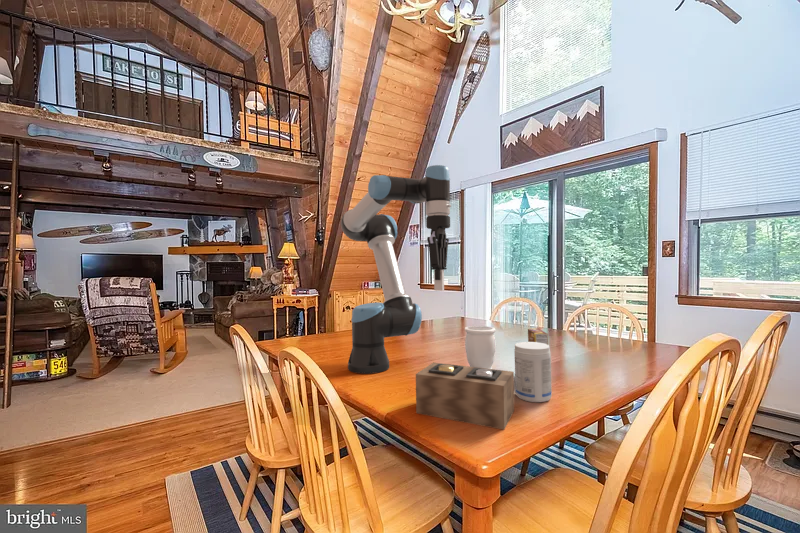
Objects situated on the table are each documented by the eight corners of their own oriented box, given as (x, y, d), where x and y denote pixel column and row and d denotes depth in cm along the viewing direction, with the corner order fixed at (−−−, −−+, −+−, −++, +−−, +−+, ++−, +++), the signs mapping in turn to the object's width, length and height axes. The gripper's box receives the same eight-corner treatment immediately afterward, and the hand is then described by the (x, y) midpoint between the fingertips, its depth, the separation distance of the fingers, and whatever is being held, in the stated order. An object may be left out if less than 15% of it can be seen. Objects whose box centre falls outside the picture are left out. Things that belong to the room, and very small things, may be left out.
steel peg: (474, 412, 92) (474, 372, 92) (479, 407, 96) (478, 368, 96) (490, 415, 90) (490, 374, 90) (494, 409, 94) (494, 370, 94)
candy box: (527, 372, 128) (527, 328, 127) (540, 372, 127) (540, 328, 127) (535, 381, 119) (535, 333, 119) (549, 381, 118) (549, 333, 118)
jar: (459, 369, 134) (459, 327, 133) (483, 365, 138) (482, 324, 138) (477, 377, 124) (477, 331, 124) (502, 372, 128) (501, 329, 128)
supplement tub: (542, 390, 110) (541, 340, 110) (557, 402, 100) (557, 348, 100) (510, 391, 109) (509, 341, 109) (522, 404, 100) (521, 349, 100)
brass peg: (436, 406, 97) (436, 367, 97) (442, 401, 100) (441, 364, 100) (451, 409, 95) (450, 369, 95) (456, 403, 98) (456, 365, 98)
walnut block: (416, 413, 95) (415, 371, 95) (434, 397, 106) (433, 360, 106) (504, 429, 85) (503, 383, 85) (514, 410, 96) (513, 369, 95)
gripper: (441, 212, 110) (443, 292, 111) (456, 217, 122) (457, 289, 122) (418, 214, 114) (420, 291, 114) (434, 218, 126) (435, 288, 126)
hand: (439, 290), depth 118 cm, fingers closed
